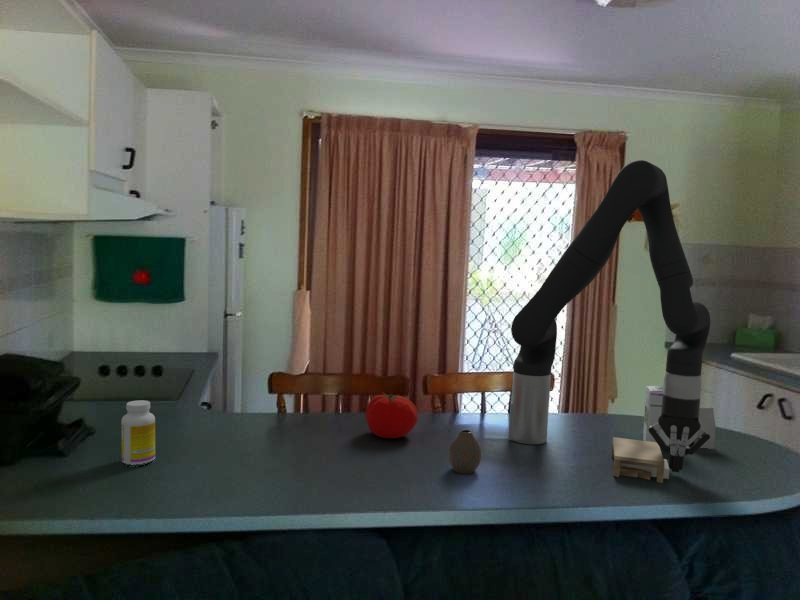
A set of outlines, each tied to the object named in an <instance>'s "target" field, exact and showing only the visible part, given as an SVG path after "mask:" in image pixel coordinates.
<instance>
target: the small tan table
mask: <svg viewBox="0 0 800 600" xmlns="http://www.w3.org/2000/svg"><path fill="white" fill-rule="evenodd" d="M611 445H612V446H611V458H613V472H612V476H613V477H614V476H615V478H620V476H624V477H631V478H640V479H644V480H647V479H648V481H650V480H651V472H648V471H644V470H641V469H636V468H629V467H621V460H623V461H631V462H639V463H647V464H655V465H657V477H655V478H656V483H660V484H663V483H664V478H663V475H664V463H665V462H664V459H665V458H664V457H663V454H662V449H661V448H660V447H659V445H658V444H657V442H649V441H643V440H639V439H632V438H631V439H630V438H624V437H615V436H612V443H611Z"/></svg>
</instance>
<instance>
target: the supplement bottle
mask: <svg viewBox="0 0 800 600" xmlns="http://www.w3.org/2000/svg"><path fill="white" fill-rule="evenodd" d="M125 408H126V409H125V410H126V411H127V413H126V414H125V415H123V416H122V418H121V420H120V421H121V423H120V424H121V463H122V462H123V463H126V464H131V465H134V464H135V465H136V464H143V463H147V462H150V461H152V460H154V459H155V460H156V417H155V415H154V414H153V413H151V412H150V409H151V402H150V401H149V400H142V399H141V400H138V399H137V400H132V401H131V400H130V401H128V402H127V403H126V405H125ZM155 460H154V461H155ZM123 463H122V464H123Z"/></svg>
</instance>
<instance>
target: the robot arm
mask: <svg viewBox="0 0 800 600" xmlns="http://www.w3.org/2000/svg"><path fill="white" fill-rule="evenodd" d="M636 211H638V212H639V214H640V216H641V218H642V221H643V223H644V226H645V230H646V235H647V243H648V253H649V259H650V263H651V266H652V267H651V268H652V270H653V273H654V276H655V279H656V282H657V285H658V288H659V293H660V294H659V295H660V297H659V298H660V305H661V313H662V318H663V320H664V323H665V325H666V327H667V328H668V330H669V331H670V332H671V333H673V334H674V335H675V338H674V342H673V344H671V345H670V347H669V348H668V350H667V354H666V363H665V374H664V379H663V385H662V387H663V396H662V409H661V416H660V417H659V419H658V422H657V423H655V424H654V425H649V426H648V430H649V432H650V434H651V435H652V437H653V438H654V439H655V441H656V442H657V444H658V445H659V446H660V450H661V452H664V453H665V452H666V453H667V454H668V460H667V463H668V466H669V470H671V472H673V473H677V474H678V473H679V474H680V471H682V470H683V468H684V457H685V456H687V455H690V456H691V455H694V454H695V453H696V452H697V451H698V450H699V448H700V447H701V446H702V445H703V444H704V443H705V442H706V441H707V440H709V439H710V435H709V433H708V432H707V431H704V430H703V429H702V428H701V425H700V422H699V408H700V406H701V394H702V393H701V392H702V367H703V353H704V351H705V347H706V345H707V342H708V336H709V333H710V328H711V314H710V312H709V309H708V308H707V307H706V306H705V304H703V303H701V302H698V301H693V297H692V294H691V293H692V292H691V288H692V287H693V285H694V279H693V275H692V274H693V273H692V272H691V268H690V266H689V263H688V260H687V257H686V254H685V251H684V249H683V245H682V243H681V241H680V240H681V239H680V237H679V233H678V231H677V227H676V223H675V219H674V216H673V210H672V207H671V199H670V192H669V185H668V179H667V175H666V174H665V172H664V171H663V169H662V168H660V167H658V166H657V165H655V164H653V163H651V162H649V161H648V160H644V159H642V160H641V159H636V160H633V161H631V162H629V163H627V164H626V165H623V167H622V169H620V171H619V172H618V173H617V175H616V176H615V178H614V179H613V182H612V183H611V185H610V187H609V188H608V190H607V192H606V194H605V195H604V197H603V199H602V201H601V202H600V204H599V205H598V206H597V208H596V209H595V211H594V212H593V213H592V215H591V216H590V217H589V219H588V220H587V221H586V222H585V224H584V226H583V227H582V228H581V230H580V231H578V234H577V235H576V236H575V237H574V239H573V240H572V241H571V242H570V244H569V245H568V247H567V248H566V249H565V251H564V252H563V253H562V256H561V257H560V258H559V260H558V261H557V263H556V264H555V265H554V267H553V268H552V269H551V271H550V273H549V274H548V276H547V277H546V279H545V280H544V282H543V283H542V285H540V288H539V289H538V290H537V291H536V293H535V294H534V295H533V296H532V297H531V298H530V300H529V301H528V302H527V303H526V304H525V305H524V307H523V308H521V309H520V311H519V312H518V313H517V314H516V315H515V317H514V319H513V320H512V322H511V328H510V332H511V336H512V339H513V341H514V342H515V343H516V344H517V345H519V346H520V347H519V352H518V354H517V356H516V358H515V359H514V362H513V370H512V371H513V372H512V391H511V402H510V406H509V421H508V424H509V425H508V438H507V440H508V441H513V442H516V443H519V444H524V445H525V444H526V445H542V444H545V443H546V442H547V439H548V426H549V423H548V422H549V410H550V395H551V379H552V378H551V377H552V375H551V373H552V367H553V364H554V361H555V356H556V349H557V348H556V347H557V336H558V325H557V320H556V318H557V317H558V315H560V313H561V311H562V310H563V309H564V308H565V307H566V306H567V305H568V304H569V303H570V302H571V301H572V300H573V299H574V298H576V297H577V296H578V295H579V294H580V293H581V292H582V291H584V289H586V288H587V287H588V286H589V285H590V283H592V282H593V281H594V279H596V277H597V276H598V275H599V273H600V272H601V270H602V269H604V267H605V266H606V264H607V263H608V261H609V260H610V258H611V256H612V253H613V251H614V249H615V246H616V244H617V241H618V239H619V236H620V233H621V231H622V229H623V227H624V226H625V225H626V223H627V221H628V220H629V219H630V218H631V217H632V215H633V214H634V213H635V212H636ZM660 427H661V428H662V430H663V431H664V433H665V434H666V436H667V437H668V438H669V446H668V445H666V444H665V442H664V441H663V439H662V438H661V437H660V435H659V433H660V429H659V428H660ZM697 431H698V433H697V434H696V436H697V438H696V439H695V440H694V441H693V442H692V443H690V444H689V445H688V446H687V440H689V439H690V438H691V437H692V436H693V435H694V434H695V433H696V432H697ZM677 440H678V443H677ZM686 446H687V447H686Z"/></svg>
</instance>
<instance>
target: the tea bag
mask: <svg viewBox="0 0 800 600" xmlns="http://www.w3.org/2000/svg"><path fill="white" fill-rule="evenodd" d="M699 422H700V425H701V428H702V429H703V430H704V431H707V432H708V433H709V435H710V439H709V440H707V441H706V442H705V443H704V444H703V445H702V446H701V447H700V448H708V449H709V450H714V449H715V447H714V446H715V435H716V428H717V427H716V426H717V425H716V419H715V411H714V408H713V407H700V408H699ZM697 433H698V431H697V432H696V433H695V434H694V435H693V436H692V437H691V438H690V439H689V440H687V446H688V445H689V444H690V443H692V442H693V441H694V440H695V439H696V438H697V436H696V434H697ZM687 446H686V447H687ZM708 449H707V450H708Z"/></svg>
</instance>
